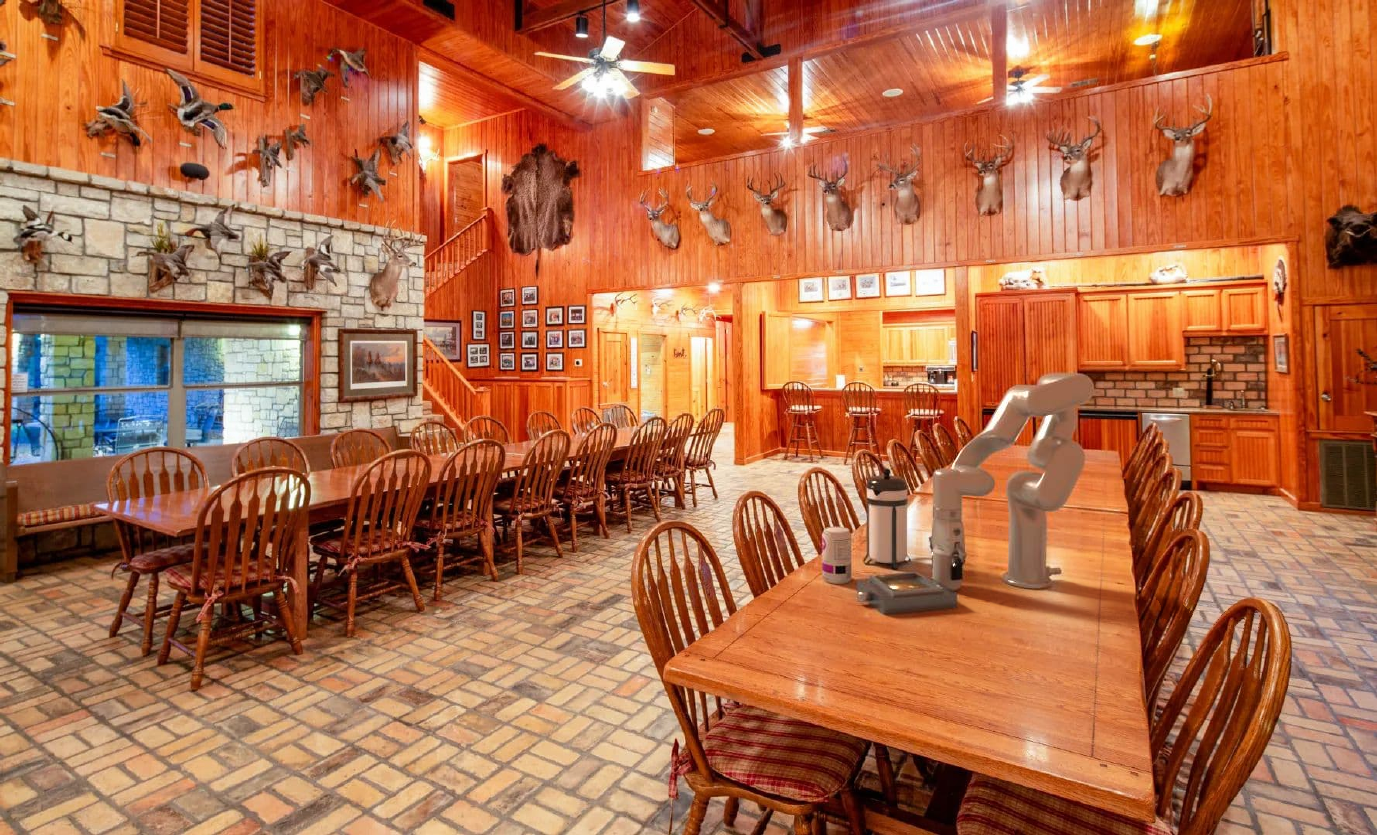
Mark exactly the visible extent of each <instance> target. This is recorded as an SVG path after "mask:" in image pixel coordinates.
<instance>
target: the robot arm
mask: <svg viewBox="0 0 1377 835" xmlns="http://www.w3.org/2000/svg"><path fill="white" fill-rule="evenodd" d="M1094 393H1095V385H1094V382H1093V380H1092V379H1091V377H1089V376H1088V375H1087V374H1083V373H1075V372H1049V373H1046V374H1043V375H1042V376H1040V378H1039V379H1038V380H1037V384H1036V385H1034V384H1033V385H1032V384H1016V385H1014V386H1011V387H1010V388H1009V389H1007V391H1006V392H1005V394H1004V395H1003V397H1002V398H1001V400H1000V402H999V404H998V405H997V407H996V409H995V411H994V413H993V414H992V416H991V417H990V420H989V421H988V423H987V424H986V426H985V428H984V429H983V430H982V431H981V432H980V433H979V434H977V435H976V436H974V438H972V439H971V440H970V441H969V442H968V443H966V444H965V446H964V447H963V448H962V449H961V450H960V452H958V455H957V457H956V458H955V460H954V462H953V464H952V466H951V467H950V468H938V469H935V470H934V471H933V474H932V524H931V535H930V536H929V537H928V542H929V548H930V550H931V551H930V554H931V569H932V570H933V549H934V548H935V545H937V547H940V548H943V551H944V552H945V554H946V556H947V557H950V560H951V563H952V565H953V566H951V580H953V581H954V580H961V581H962V580H963V576H964V575H963V573H964V572H963V568H964V565H965V562H966V560H967V559H966V558H967V555H968V554H967V552H966V540H965V537H966V536H965V528H964V523H963V496H967V497H968V496H969V497H986V496H987V495H989V494H991V493H992V492H993V490H994V489H995V485H996V482H995V478H994V476H993V475H992V473H990V472H989V471H987V470H984V469H982V468H981V466H982V464H983V463H984V462H985V461H986V460H987V459H988V458H989V457H991V456H992V455H994V454H996V453H998V452H1000V451H1004V450H1006V449H1008V448H1011V447H1012V446H1013V445H1015V443H1016V442H1017V440H1018V438H1019V437H1020V435H1021V433H1022V431H1023V430H1024V428H1025V427H1026V425H1027V423H1028V421H1029V419H1030V418H1031V417H1033V418H1042V420H1041V423H1040V426H1039V427H1038V429H1037V431H1036V433H1035V435H1034V437H1033V438H1032V441H1031V444H1030V446H1029V447H1028V450H1027V454H1026V457H1027V461H1028V462H1029V464H1030V465H1031V466H1033V467H1035V468H1037V469H1040V470H1042V471H1043V472H1042V473H1040V472H1036V471H1031V470H1025V469H1024V470H1018V471H1016V472H1013V473H1012V474H1011V475H1010V476H1009V477H1008V479H1007V482H1006V486H1005V491H1006V492H1005V494H1006V498H1007V505H1008V564H1007V565H1008V566H1007V567H1008V568H1007V572H1006V571H1005V572H1004V573H1002V576H1001V578H1002V581H1003V582H1005V583H1006V584H1008V585H1011V586H1014V587H1019V588H1023V589H1035V590H1036V589H1038V590H1039V589H1046V588H1049V587H1051V586H1052V584H1053V580H1052V578H1050V577H1051V576H1052V575H1054V576H1055V575H1062V569H1061V568H1060V567H1059V566H1058V567H1051V566H1049V565H1048V566H1047V544H1048V543H1047V540H1048V539H1047V537H1048V536H1047V534H1048V533H1047V532H1048V519H1047V512H1048V513H1049V512H1050V513H1051V512H1056V511H1059V510H1060V509H1061V508H1062V507H1063V506H1064V505H1065V504H1066V503H1067V501H1068V499H1069V498H1070V496H1071V494H1072V493H1073V490H1074V488H1075V486H1076V484H1077V482H1078V480H1079V478H1080V476H1081V473H1082V472H1083V471H1084V470H1083V469H1084V467H1085V464H1086V463H1085V462H1086V455H1085V451H1084V449H1083V447H1082V445H1080V443H1078V442H1077V441H1074V440H1072V438H1073V437H1074V433H1075V431H1076V429H1077V426H1078V414H1077V411H1076V408H1077V407H1080V406H1082V405H1084V404H1086V403H1087V402H1089V401H1091V398H1092V397H1093V395H1094ZM952 553H957V554H952ZM954 558H958V559H957V560H956V561H955V559H954Z"/></svg>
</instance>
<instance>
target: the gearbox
mask: <svg viewBox="0 0 1377 835" xmlns="http://www.w3.org/2000/svg"><path fill="white" fill-rule="evenodd" d="M856 597H857V598H856V599H857V601H858V602H859V603H862V602H864V603H865V602H867V603H868V604H869V605H871V606H872V607H873V608H875V610H876V611H878V612H880V614H882V616H883V615H885V616H887V615H896V614H906V613H917V612H930V611H941V610H951V609H952V610H953V609H958V592H956V590H955V591H953V590H951V589H950V588H948V587H946V586H945V585H943V584H941V583H940V582H938V581H936V580H934V579H933V577H932V576H929V575H928V574H926V573H920V572H918V571H908V572H897V573H885V574H884V573H883V574H873V575H872V574H871V575H869V577H868V578H858V579H856Z"/></svg>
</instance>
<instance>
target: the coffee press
mask: <svg viewBox="0 0 1377 835" xmlns="http://www.w3.org/2000/svg"><path fill="white" fill-rule="evenodd" d="M882 473H883V474H884V475H883V474H882V475H875V476H871V477H870V478H868V479H867V481H866V482H867V483H865V488H866V496H865V499H866V500H865V502H866V554H865V557H864V558H863V560H862V562H863V563H864V564H865V565H868V564H870V563H871V562H872V561H874V562H878V563H883V564H890V567H891V569H892V570H898V568H899V567H898V563H902V562H903V561H905V562H906V563H907V564H908V563H911V561H912V560H911V558H910V557H909V554H908V504H909V497H908V490H909V484H907V481H906V480H905V478H902V477H901V476H896V475H891V473H892V471H891V469H889V468H887V467H886V468H884V469H883V471H882ZM868 558H869V559H868ZM907 558H908V560H906V559H907ZM867 559H868V560H867Z"/></svg>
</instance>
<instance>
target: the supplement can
mask: <svg viewBox="0 0 1377 835" xmlns="http://www.w3.org/2000/svg"><path fill="white" fill-rule="evenodd" d="M821 555H822V556H821V558H822V559H821V565H822V567H821V569H822V570H821V571H822V572H821V574H822V579H823V580H824V581H825V582H826V583H828V584H831V585H843V584H848V583H849V582H850V581H851V580H852V534H851V532H850V529H849V528H847V527H843V526H828V527H825V528H824V529H823V531H822V533H821Z"/></svg>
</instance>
